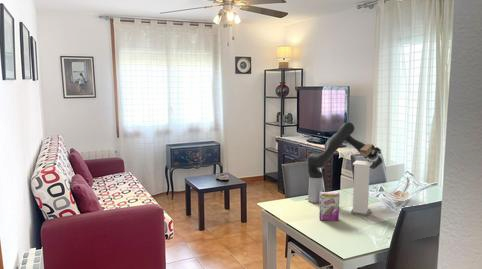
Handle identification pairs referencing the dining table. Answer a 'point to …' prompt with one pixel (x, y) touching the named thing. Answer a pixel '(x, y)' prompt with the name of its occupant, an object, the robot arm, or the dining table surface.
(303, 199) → the dining table surface
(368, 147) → the walnut bar
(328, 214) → the candy bar box
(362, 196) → the shelf post
